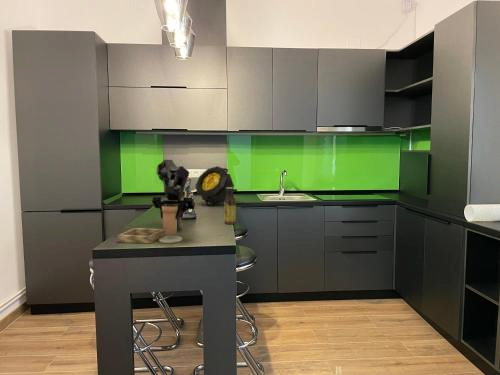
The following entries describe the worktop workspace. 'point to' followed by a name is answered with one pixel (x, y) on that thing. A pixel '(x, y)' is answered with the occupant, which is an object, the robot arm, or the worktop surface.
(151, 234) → the pine frame
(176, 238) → the ceramic saucer
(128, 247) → the worktop surface
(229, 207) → the sauce bottle
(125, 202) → the worktop surface
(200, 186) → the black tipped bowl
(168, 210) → the terracotta pot
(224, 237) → the worktop surface
